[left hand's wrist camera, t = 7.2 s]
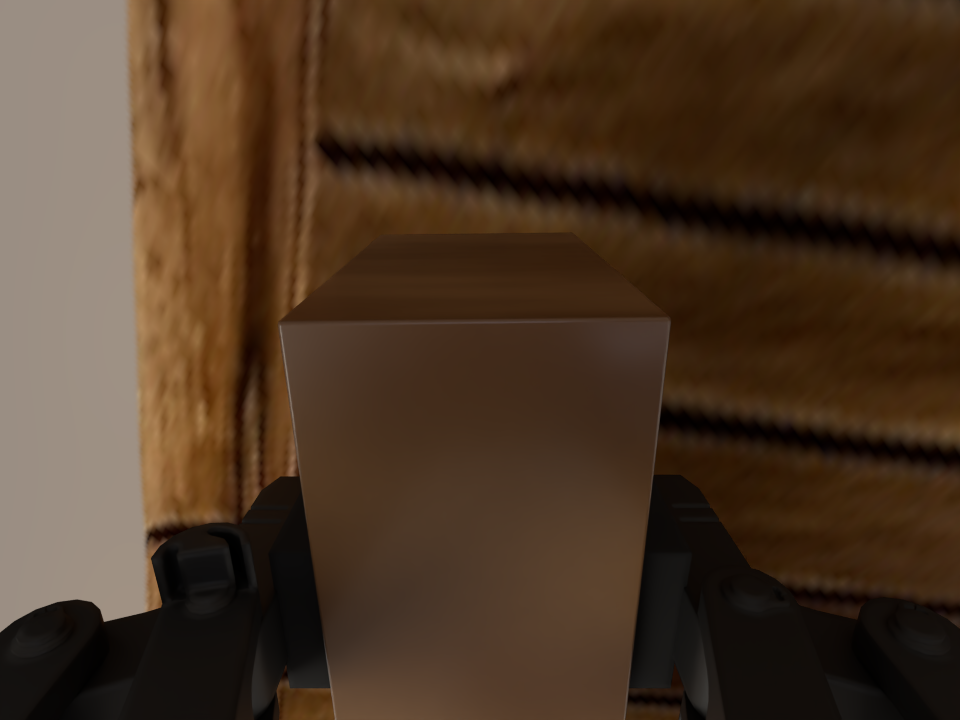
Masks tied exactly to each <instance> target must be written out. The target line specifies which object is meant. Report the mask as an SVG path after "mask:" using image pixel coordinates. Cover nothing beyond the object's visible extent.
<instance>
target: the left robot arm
mask: <svg viewBox="0 0 960 720" xmlns="http://www.w3.org/2000/svg"><path fill="white" fill-rule="evenodd" d="M718 519H719V518H718V517H717V515H716V514H715V512H714V511H713V509H712V508H710V505H709V503H708V502H707V500H706V499H705V497H704V495H703V494H702V492H701V491H700V489H699V488H697V487H696V486H695V485H693V484H692V483H691V482H689V481H688V480H686V479H685V478H684V477H682V476H681V475H653V483H652V491H651V500H650V509H649V518H648V526H647V535H646V544H645V553H644V561H643V570H642V579H641V588H640V596H639V605H638V614H637V623H636V631H635V640H634V649H633V658H632V666H631V675H630V684H629V688H670V687H671V681H672V675H673V669H674V662H675V665H676V667H677V670H678V673H679V675H680V678H681V681H682V683H683V686H684V692H683V698H682V704H681V710H680V715H679V720H960V629H959V628H958V627H957V626H955V625H954V624H953V623H952V622H950V621H949V620H948V619H946V618H944V617H943V616H941V615H939V614H937V613H935V612H933V611H931V610H930V609H928V608H926V607H923V606H920V605H917V604H914V603H911V602H909V601H906V600H901V599H893V598H886V597H883V598H877V599H871V600H869V601H868V602H866V603H865V604H864V605H863V606H862V607H861V609H860V613H859V616H858V619H857V620H855V619H851V618H847V617H842V616H838V615H834V614H830V613H825V612H821V611H817V610H813V609H810V608H807V607H803V606H800V605H798V603H797V601H796V600H795V598H794V597H793V595H792V594H791V592H790V591H789V590H788V589H787V588H786V587H785V586H783V585H782V584H781V583H780V582H779V581H777V580H776V579H775V578H773V577H771V576H769V575H767V574H765V573H763V572H761V571H759V570H756V569H752V568H751V567H750V566H749V564H748V563H747V561H746V560H745V558H744V557H743V555H742V554H741V552H740V550H739V549H738V547H737V546H736V544H735V543H734V541H733V540H732V538H731V537H730V535H729V534H728V532H727V531H726V529H725V528H724V526H723V525H722V523H721V522H719V520H718ZM151 560H152V564H153V568H154V572H155V576H156V580H157V584H158V588H159V592H160V596H161V600H162V606H161V608H158V609H155V610H152V611H148V612H145V613H141V614H137V615H132V616H128V617H124V618H119V619H115V620H111V621H106V622H104V621H103V618H102V614H101V611H100V609H99V608H98V607H97V606H96V605H94V604H93V603H92V602H88V601H82V600H70V601H62V602H57V603H54V604H51V605H48V606H45V607H42V608H39V609H36V610H34V611H32V612H31V613H29V614H27V615H25V616H23V617H21V618H19V619H18V620H16V621H14V622H13V623H12V624H10V625H9V626H8V627H7V628H5V629H4V630H3V631H2V632H0V720H279V713H280V712H279V705H278V698H277V692H276V690H277V687H278V684H279V682H280V679H281V677H282V674H283V671H284V669H285V666H287V672H288V678H289V685H290V688H331V687H330V681H329V674H328V667H327V660H326V653H325V646H324V639H323V632H322V625H321V619H320V612H319V605H318V598H317V591H316V584H315V577H314V570H313V563H312V557H311V550H310V543H309V536H308V529H307V522H306V515H305V508H304V501H303V495H302V488H301V481H300V477H279V478H278V479H276V480H275V481H274V482H272V483H271V484H270V485H268V486H267V487H266V488H264V489H263V490H262V491H261V492H260V494H259V495H258V497H257V498H256V500H255V501H254V503H253V504H252V506H251V510H249V511H248V512H247V514H246V515H245V517H244V518H243V520H242V524H239V526H238V525H235V524H231V523H209V524H205V525H200V526H196V527H192V528H190V529H188V530H186V531H183V532H181V533H179V534H177V535H174V536H173V537H172V538H170V539H169V540H168V541H166V542H165V543H164V544H162V545H161V546H160V547H159V548H158V549H157V551H156V552H155V553H154V555H153V556H152V557H151Z"/></svg>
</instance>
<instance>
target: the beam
mask: <svg viewBox="0 0 960 720" xmlns="http://www.w3.org/2000/svg"><path fill="white" fill-rule="evenodd" d="M670 325H671V319H670V317H669V316H668V315H667V314H666V313H665V312H663V311H662V310H661V309H660V308H659V307H658V306H657V305H655V304H654V303H653V302H652V301H651V300H650V299H648V298H647V297H646V296H645V295H644V294H643V293H641V292H640V291H639V290H638V289H637V288H636V287H635V286H633V285H632V284H631V283H630V282H629V281H628V280H626V279H625V278H624V277H623V276H622V275H621V274H620V273H618V272H617V271H616V270H615V269H614V268H613V267H611V266H610V265H609V264H608V263H607V262H606V261H604V260H603V259H602V258H601V257H600V256H599V255H598V254H596V253H595V252H594V251H593V250H592V249H591V248H589V247H588V246H587V245H586V244H585V243H584V242H583V241H581V240H580V239H579V238H578V237H577V236H576V235H574V234H573V233H501V234H415V235H380V236H379V237H378V238H377V239H376V240H374V241H373V242H372V243H371V244H370V245H369V246H367V247H366V248H365V249H364V250H363V251H361V252H360V253H359V254H358V255H357V256H356V257H354V258H353V259H352V260H351V261H350V262H348V263H347V264H346V265H345V266H344V267H343V268H341V269H340V270H339V271H338V272H337V273H336V274H334V275H333V276H332V277H331V278H330V279H328V280H327V281H326V282H325V283H324V284H323V285H321V286H320V287H319V288H318V289H317V290H315V291H314V292H313V293H312V294H311V295H310V296H308V297H307V298H306V299H305V300H304V301H302V302H301V303H300V304H299V305H298V306H297V307H295V308H294V309H293V310H292V311H291V312H289V313H288V314H287V315H286V316H285V317H284V318H282V319H281V320H280V321H279V323H278V329H279V336H280V343H281V350H282V357H283V364H284V370H285V377H286V384H287V391H288V398H289V405H290V412H291V419H292V426H293V432H294V439H295V446H296V453H297V460H298V467H299V474H300V481H301V488H302V495H303V501H304V508H305V515H306V522H307V529H308V536H309V543H310V550H311V557H312V563H313V570H314V577H315V584H316V591H317V598H318V605H319V612H320V619H321V625H322V632H323V639H324V646H325V653H326V660H327V667H328V674H329V681H330V687H331V694H332V701H333V708H334V715H335V720H625V719H626V710H627V701H628V693H629V684H630V675H631V666H632V658H633V649H634V640H635V631H636V623H637V614H638V605H639V596H640V588H641V579H642V570H643V561H644V553H645V544H646V535H647V526H648V518H649V509H650V500H651V491H652V483H653V474H654V465H655V456H656V448H657V439H658V430H659V421H660V413H661V404H662V395H663V386H664V378H665V369H666V360H667V351H668V343H669V334H670Z"/></svg>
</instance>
